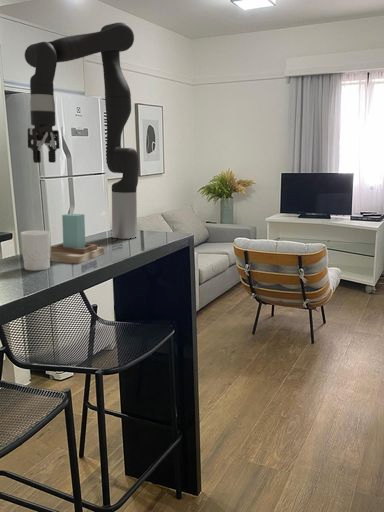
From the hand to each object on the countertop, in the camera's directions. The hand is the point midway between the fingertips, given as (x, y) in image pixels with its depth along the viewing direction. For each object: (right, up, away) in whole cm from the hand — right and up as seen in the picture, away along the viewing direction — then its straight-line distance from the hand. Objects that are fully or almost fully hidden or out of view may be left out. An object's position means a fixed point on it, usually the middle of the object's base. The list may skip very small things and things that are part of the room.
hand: (44, 162), depth 164 cm
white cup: (+4, -34, -22) cm, 41 cm away
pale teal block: (+11, -28, -7) cm, 31 cm away
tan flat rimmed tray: (+11, -30, -7) cm, 33 cm away
